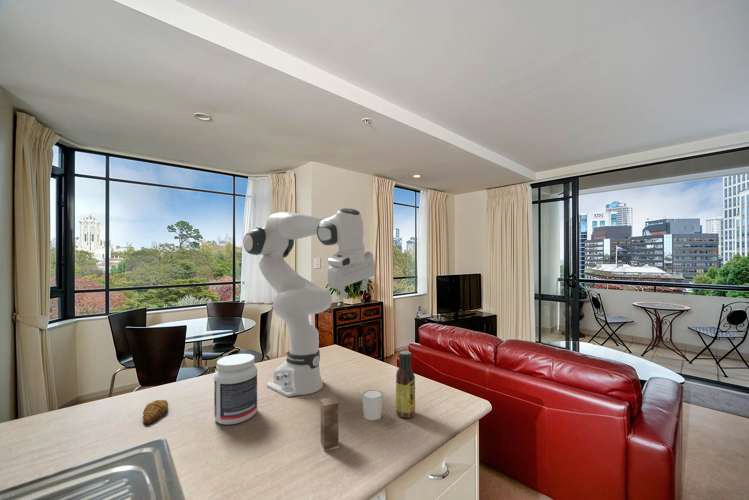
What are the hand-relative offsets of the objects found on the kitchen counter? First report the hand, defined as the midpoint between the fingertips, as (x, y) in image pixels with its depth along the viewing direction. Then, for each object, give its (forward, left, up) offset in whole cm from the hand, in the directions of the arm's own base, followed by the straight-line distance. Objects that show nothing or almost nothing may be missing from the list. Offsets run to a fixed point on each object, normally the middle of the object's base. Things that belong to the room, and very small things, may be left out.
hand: (354, 293), depth 109 cm
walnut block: (+7, -24, -38) cm, 46 cm away
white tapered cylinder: (+10, -5, -38) cm, 40 cm away
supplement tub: (-29, -26, -38) cm, 55 cm away
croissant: (-53, -38, -39) cm, 76 cm away
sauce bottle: (+19, +1, -38) cm, 43 cm away
